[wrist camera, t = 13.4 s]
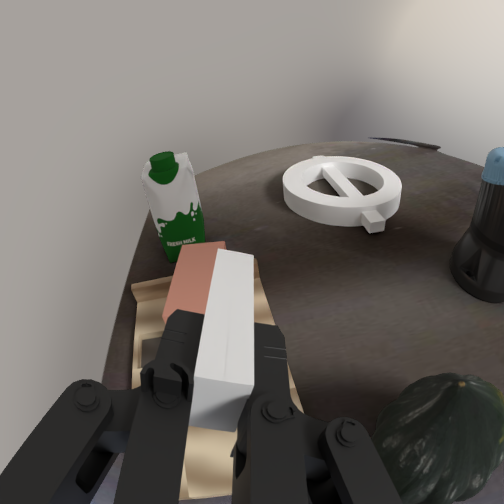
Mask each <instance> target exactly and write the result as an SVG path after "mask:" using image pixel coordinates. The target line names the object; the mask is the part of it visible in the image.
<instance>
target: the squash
mask: <svg viewBox="0 0 504 504" xmlns="http://www.w3.org/2000/svg"><path fill="white" fill-rule="evenodd" d="M371 440H372V442H373V444H374V446H375V448H376V450H377V452H378V454H379V456H380V458H381V460H382V462H383V464H384V466H385V468H386V470H387V472H388V474H389V476H390V478H391V480H392V482H393V484H394V486H395V488H396V490H397V492H398V494H399V496H400V499H401V501H402V503H403V504H452V503H453V502H454V501H465V500H467V499H469V498H471V497H473V496H475V495H476V494H477V493H478V492H480V491H481V490H482V489H483V487H484V486H485V485H486V483H487V481H488V480H489V478H490V476H491V474H492V472H493V471H494V470H495V469H496V468H497V467H498V466H499V465H500V464H501V463H502V461H503V459H504V396H503V394H502V392H501V391H500V390H499V389H497V388H496V387H495V386H494V385H492V384H491V383H489V382H486V381H483V380H482V379H481V378H479V377H477V376H474V375H460V374H456V373H443V374H439V375H436V376H428V377H424V378H421V379H419V380H418V381H416V382H414V383H412V384H410V385H409V386H408V387H406V388H405V389H404V391H403V392H402V393H401V394H400V396H399V398H398V399H396V400H395V401H393V402H391V403H390V404H388V405H387V406H385V407H384V409H383V410H382V411H381V412H380V414H379V416H378V418H377V423H376V431H375V433H374V434H373V436H372V438H371Z"/></svg>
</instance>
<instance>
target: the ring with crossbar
mask: <svg viewBox="0 0 504 504" xmlns="http://www.w3.org/2000/svg"><path fill="white" fill-rule="evenodd" d="M324 178H325V179H326V180H327V181H328V182H329V184H330V185H331V186H332V187H333V188H334V189H335V191H336V192H337V193H338V194H339V195H340V197H338V196H331V195H326V194H322V193H319V192H316V191H314V190H312V189H310V188H308V187H307V185H308V184H310V183H311V182H314V181H316V180H319V179H324ZM347 178H352V179H357V180H360V181H363V182H366V183H368V184H370V185H372V186H374V187H375V188H376V189H377V190H378V191H377V192H375V193H373V194H370V195H366V196H363V195H362V194H361V193H360V192H359V191H358V190H357V189H356V188H355V187H354V186H353V185H352V183H351V182H350V181H349V180H348V179H347ZM401 189H402V184H401V181H400V179H399V178H398V176H397V175H396V174H395V173H394V172H392V171H391V170H389V169H388V168H386V167H384V166H382V165H380V164H377V163H374V162H371V161H368V160H364V159H359V158H353V157H342V156H330V157H324V156H314V157H312V159H309V160H305V161H302V162H299V163H297V164H295V165H293V166H291V167H290V168H289V169H288V170H287V171H286V172H285V173H284V175H283V192H284V200H285V202H286V204H287V205H288V207H289V208H290V209H291V210H292V211H294V212H295V213H297V214H298V215H300V216H302V217H304V218H307V219H309V220H312V221H315V222H319V223H323V224H328V225H334V226H364V227H365V228H366V230H367V231H368V232H369V233H374V232H380V231H384V228H385V221H386V219H388V218H389V217H391V216H392V215H393V214H395V212H396V211H397V210H398V207H399V203H400V196H401Z"/></svg>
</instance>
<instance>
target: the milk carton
mask: <svg viewBox="0 0 504 504" xmlns="http://www.w3.org/2000/svg"><path fill="white" fill-rule="evenodd" d="M141 179H142V183H143V186H144V190H145V193H146V197H147V200H148V204H149V207H150V210H151V213H152V217H153V220H154V223H155V226H156V229H157V232H158V235H159V238H160V241H161V243H162V245H163V248H164V250H165V252H166V254H167V257H168V259H169V261H170V263H172V262H177V261H178V258H179V254H180V251H181V248H182V245H187V244H198V243H205V231H204V219H203V213H202V209H201V204H200V200H199V195H198V191H197V186H196V182H195V178H194V172H193V169H192V166H191V164H190V161H189V159H188V156H187V153H186V152H185V153H181V154H177V155H174V153H173V152H162V153H159V154H156V155H154V156H152V157H151V158H150V161H147V162H146V165H145V166H144V169H143V173H142V176H141Z"/></svg>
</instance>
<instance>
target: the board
mask: <svg viewBox="0 0 504 504" xmlns="http://www.w3.org/2000/svg"><path fill="white" fill-rule="evenodd" d="M172 278H173V276H169V277H165V278H160V279H155V280H150V281H145V282H140V283H135V284H132V286H131V290H132V292H133V294H134V296H135V299H136V301H137V303H138V304H137V314H136V325H135V337H134V352H133V370H132V389H134V388H137V387H139V386H141V381H140V372H141V370H142V368H143V367H144V365H146V364H147V363H149V362H150V361H152V360H155V357H156V354H157V351H158V347H159V344H160V341H161V338H162V334H163V331H164V328H165V325H166V324H165V322H164V320H163V318H162V315H163V311H164V307H165V303H166V300H167V296H168V292H169V289H170V285H171V282H172ZM254 322H257V323H263V324H270V325H275V324H274V321H273V317H272V314H271V311H270V308H269V305H268V302H267V299H266V296H265V293H264V290H263V287H262V284H261V281H260V278H259V270H258V263H257V260H256V258H255V259H254ZM287 365H288V363H287ZM288 375H289V384H290V394H291V398H292V401H293V403H294V404H295V405H296V406H297V408H298V409H299V410H300V411H301V412H303V409H302V406H301V403H300V400H299V397H298V394H297V391H296V387H295V384H294V381H293V378H292V375H291V372H290V369H289V366H288ZM303 413H304V412H303ZM236 440H237V429H236V431H235V432H227V431H220V430H212V429H206V428H200V427H194V426H189V427H188V433H187V441H186V448H185V456H184V463H183V471H182V479H181V487H180V496H179V500H185V499H198V498H209V497H217V496H225V495H232V478H233V457H230V454H231V451H232V449H233V447H234V445H235V442H236Z"/></svg>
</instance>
